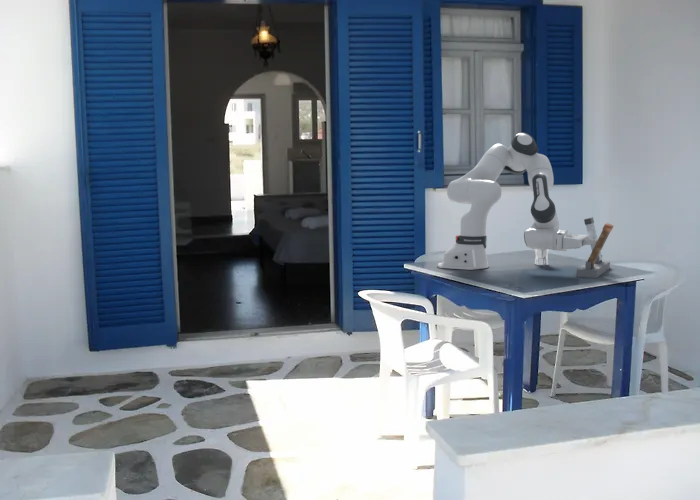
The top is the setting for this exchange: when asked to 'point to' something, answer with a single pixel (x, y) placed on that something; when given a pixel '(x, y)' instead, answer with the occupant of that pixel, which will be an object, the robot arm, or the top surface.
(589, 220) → the metal lever
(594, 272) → the plinth
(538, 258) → the beer glass
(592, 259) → the walnut lever
